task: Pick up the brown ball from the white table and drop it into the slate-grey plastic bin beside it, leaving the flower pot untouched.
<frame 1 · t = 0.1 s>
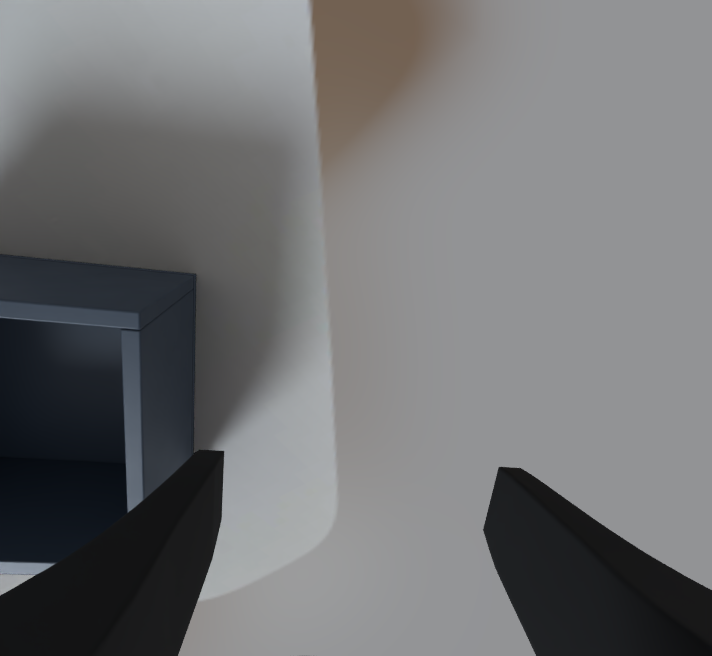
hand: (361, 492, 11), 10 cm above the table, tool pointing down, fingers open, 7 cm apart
bin: (80, 371, 20), on the table
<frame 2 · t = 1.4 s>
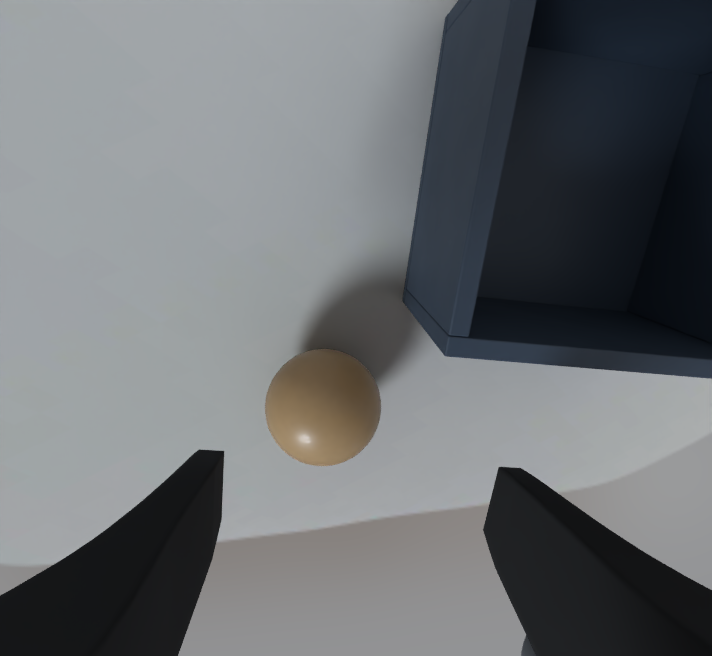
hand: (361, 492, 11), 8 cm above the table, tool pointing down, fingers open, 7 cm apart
brown ball: (323, 382, 19), on the table
bin: (547, 188, 17), on the table
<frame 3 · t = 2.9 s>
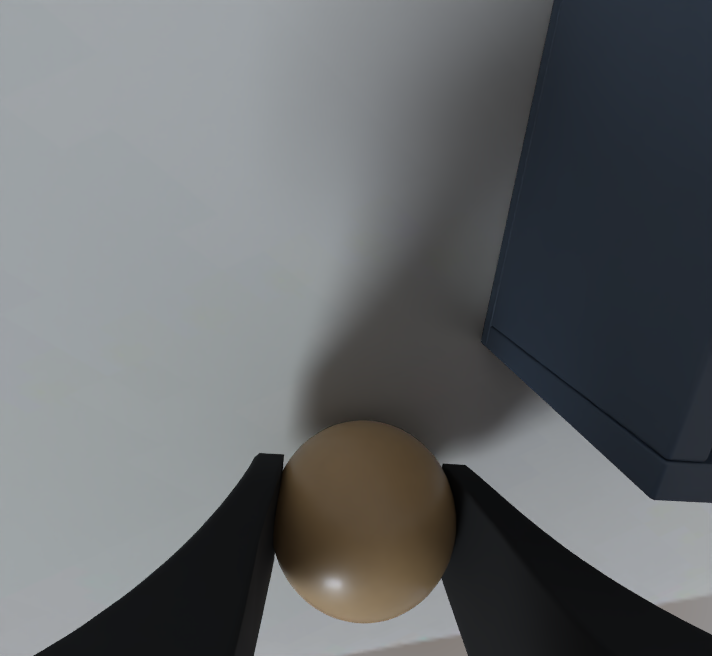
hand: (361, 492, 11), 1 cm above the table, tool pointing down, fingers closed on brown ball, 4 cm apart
brown ball: (355, 460, 13), on the table, touching gripper
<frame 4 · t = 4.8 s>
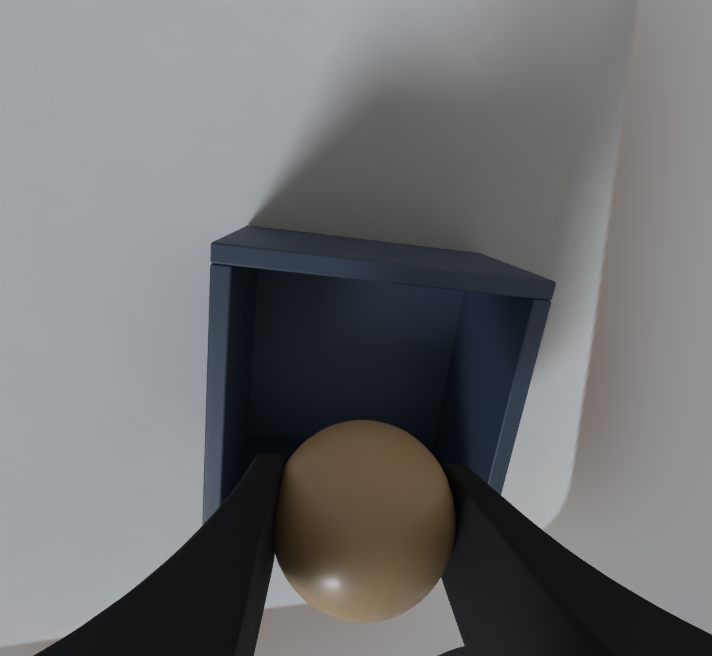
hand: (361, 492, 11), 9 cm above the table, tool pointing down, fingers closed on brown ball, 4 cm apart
brown ball: (355, 459, 13), point 8 cm above the table, touching gripper
bin: (353, 351, 20), on the table
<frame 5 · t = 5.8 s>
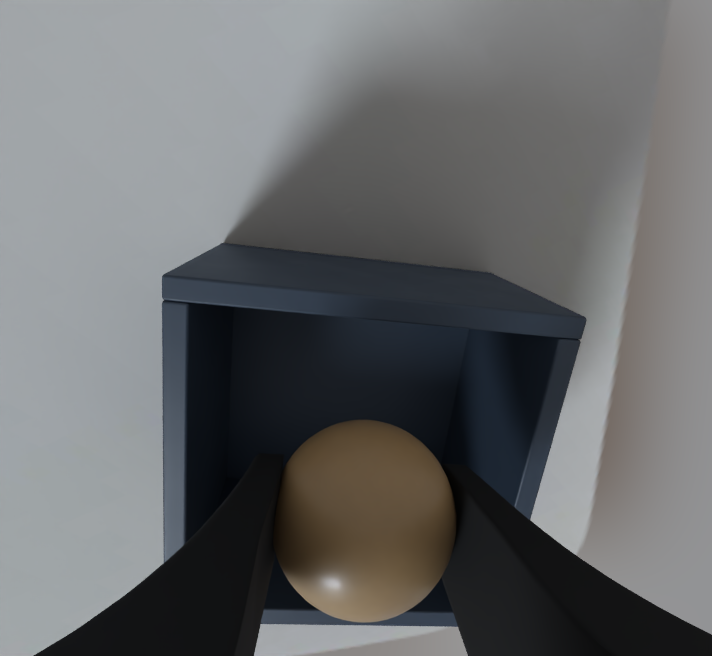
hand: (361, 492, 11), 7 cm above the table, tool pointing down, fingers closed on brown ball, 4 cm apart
brown ball: (355, 459, 13), point 5 cm above the table, touching gripper
bin: (345, 382, 18), on the table
when the fingers open (5 cm above the table, at t = 6.7 s): brown ball drops 4 cm, resting on bin.
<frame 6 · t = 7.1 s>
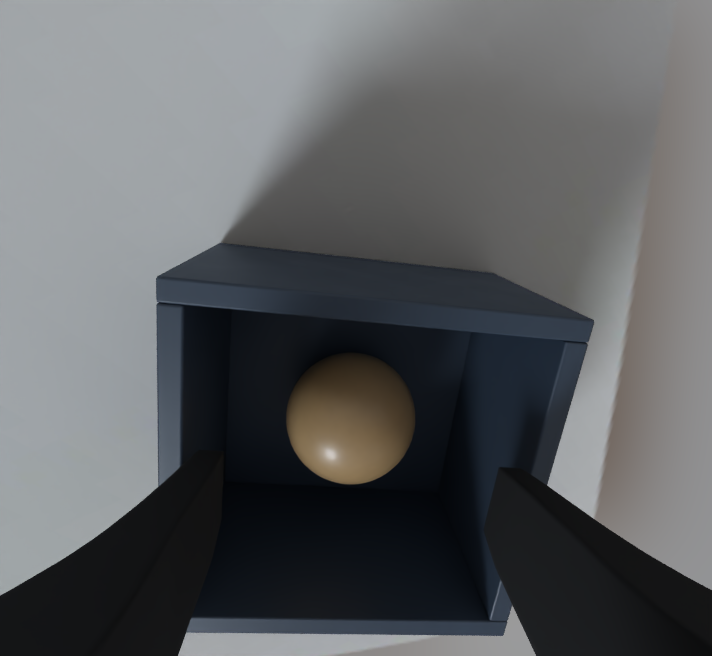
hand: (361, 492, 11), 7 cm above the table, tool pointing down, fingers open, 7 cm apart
brown ball: (346, 388, 17), resting on bin
bin: (345, 385, 17), on the table
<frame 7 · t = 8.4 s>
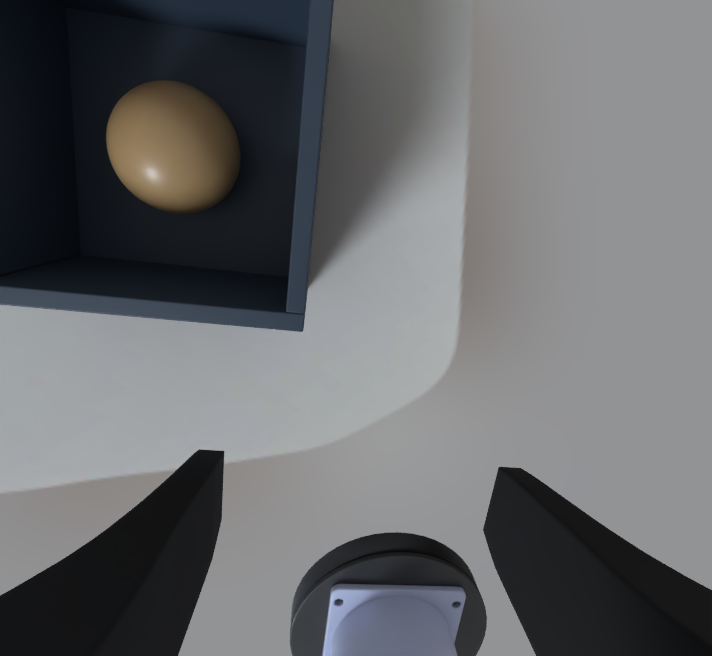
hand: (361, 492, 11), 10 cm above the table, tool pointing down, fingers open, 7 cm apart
brown ball: (192, 155, 18), resting on bin
bin: (195, 157, 18), on the table
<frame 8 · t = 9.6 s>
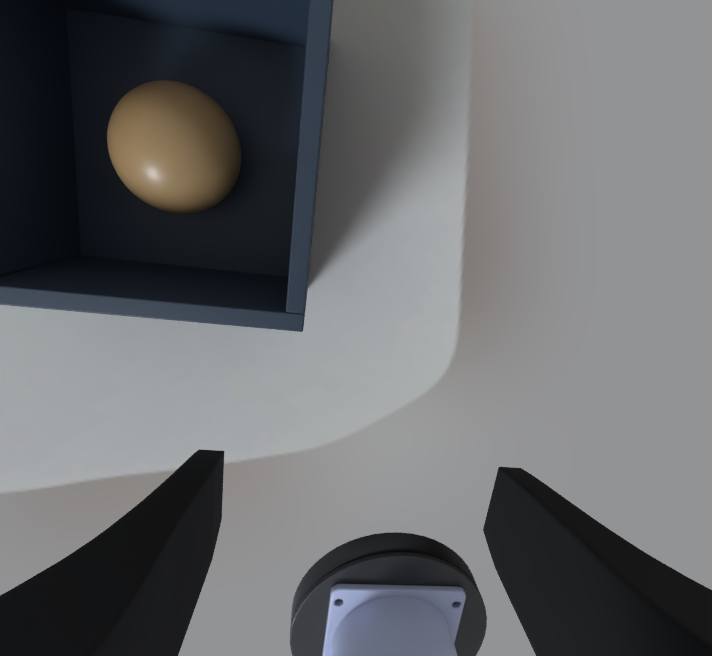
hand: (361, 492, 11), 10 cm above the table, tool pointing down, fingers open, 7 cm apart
brown ball: (192, 156, 18), resting on bin
bin: (195, 157, 18), on the table
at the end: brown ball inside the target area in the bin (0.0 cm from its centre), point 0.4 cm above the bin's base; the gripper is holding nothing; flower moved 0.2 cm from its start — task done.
